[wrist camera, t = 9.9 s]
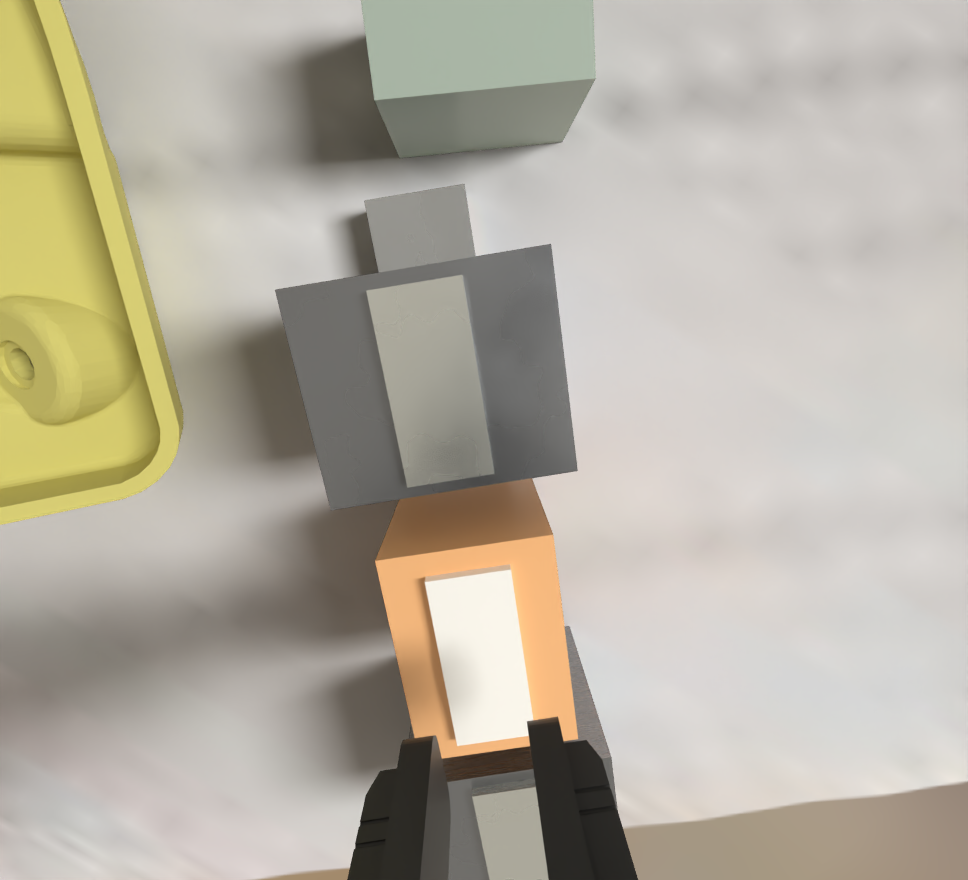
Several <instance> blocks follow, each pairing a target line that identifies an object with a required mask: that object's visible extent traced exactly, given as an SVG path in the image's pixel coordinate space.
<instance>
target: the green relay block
mask: <svg viewBox="0 0 968 880" xmlns="http://www.w3.org/2000/svg"><path fill="white" fill-rule="evenodd" d="M361 4H362V12H363V19H364V27H365V34H366V42H367V49H368V57H369V64H370V72H371V79H372V87H373V94H374V101H375V103H376V105H377V107H378V110H379V112H380V114H381V117H382V119H383V121H384V123H385V126H386V128H387V130H388V133H389V135H390V137H391V139H392V142H393V144H394V146H395V148H396V151H397V153H398V155H399V158H407V157H417V156H427V155H437V154H447V153H457V152H467V151H477V150H487V149H497V148H507V147H517V146H527V145H537V144H547V143H557V142H562V141H563V140H564V138H565V136H566V134H567V132H568V130H569V128H570V126H571V124H572V122H573V121H574V119H575V117H576V115H577V113H578V111H579V109H580V107H581V105H582V103H583V102H584V100H585V98H586V96H587V94H588V92H589V90H590V88H591V86H592V84H593V83H594V81H595V79H596V72H595V45H594V17H593V0H361Z"/></svg>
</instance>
